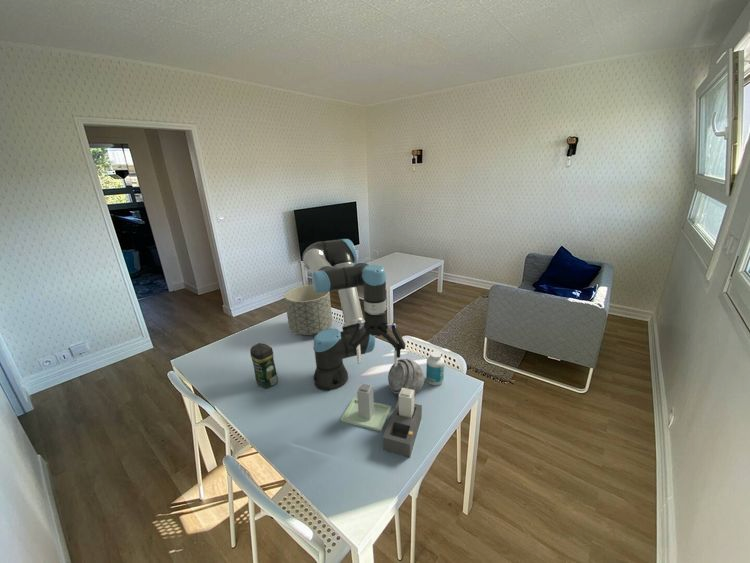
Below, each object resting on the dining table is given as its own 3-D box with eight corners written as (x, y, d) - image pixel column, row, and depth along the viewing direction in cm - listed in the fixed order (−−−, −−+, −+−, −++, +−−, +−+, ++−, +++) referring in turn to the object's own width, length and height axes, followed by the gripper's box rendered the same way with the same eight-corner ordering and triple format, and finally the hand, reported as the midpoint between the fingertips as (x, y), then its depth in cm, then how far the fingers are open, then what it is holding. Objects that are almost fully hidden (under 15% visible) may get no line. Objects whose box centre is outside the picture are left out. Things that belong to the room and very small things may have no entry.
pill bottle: (443, 387, 130) (444, 359, 125) (425, 385, 131) (426, 358, 127) (443, 376, 137) (444, 350, 132) (426, 374, 138) (427, 348, 134)
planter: (282, 339, 172) (276, 300, 164) (300, 319, 195) (295, 284, 187) (325, 342, 168) (321, 302, 160) (337, 321, 191) (334, 285, 183)
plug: (358, 417, 115) (356, 389, 111) (363, 408, 119) (361, 381, 115) (370, 420, 113) (368, 392, 109) (374, 411, 117) (372, 384, 113)
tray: (340, 422, 114) (340, 419, 113) (353, 400, 124) (353, 397, 124) (381, 432, 108) (381, 429, 108) (391, 409, 119) (391, 406, 118)
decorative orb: (383, 386, 132) (382, 356, 127) (413, 377, 137) (413, 348, 132) (398, 409, 119) (397, 377, 114) (430, 398, 124) (431, 367, 119)
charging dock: (383, 451, 101) (381, 416, 96) (398, 412, 117) (397, 381, 112) (409, 458, 98) (409, 423, 93) (421, 418, 114) (422, 385, 109)
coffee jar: (253, 382, 138) (245, 347, 131) (268, 373, 143) (262, 339, 137) (265, 391, 132) (258, 354, 126) (281, 381, 138) (275, 345, 131)
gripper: (336, 313, 103) (341, 366, 110) (411, 317, 99) (411, 372, 106) (342, 304, 110) (346, 354, 117) (412, 307, 106) (412, 359, 113)
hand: (377, 363), depth 112 cm, fingers open, 13 cm apart
